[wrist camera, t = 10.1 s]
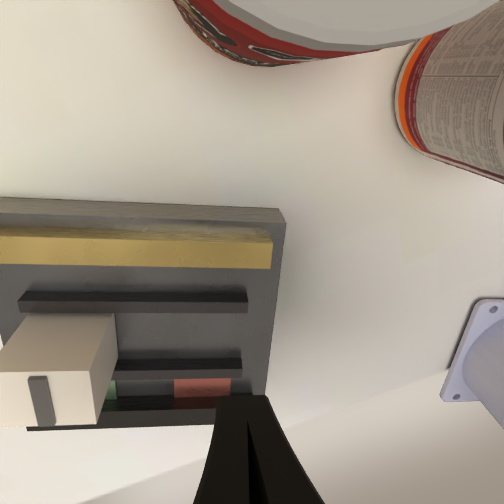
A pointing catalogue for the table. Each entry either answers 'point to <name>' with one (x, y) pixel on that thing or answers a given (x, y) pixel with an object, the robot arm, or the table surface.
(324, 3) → the canned food
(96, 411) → the block
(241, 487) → the robot arm
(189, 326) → the breaker panel
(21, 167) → the table surface
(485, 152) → the pill bottle
